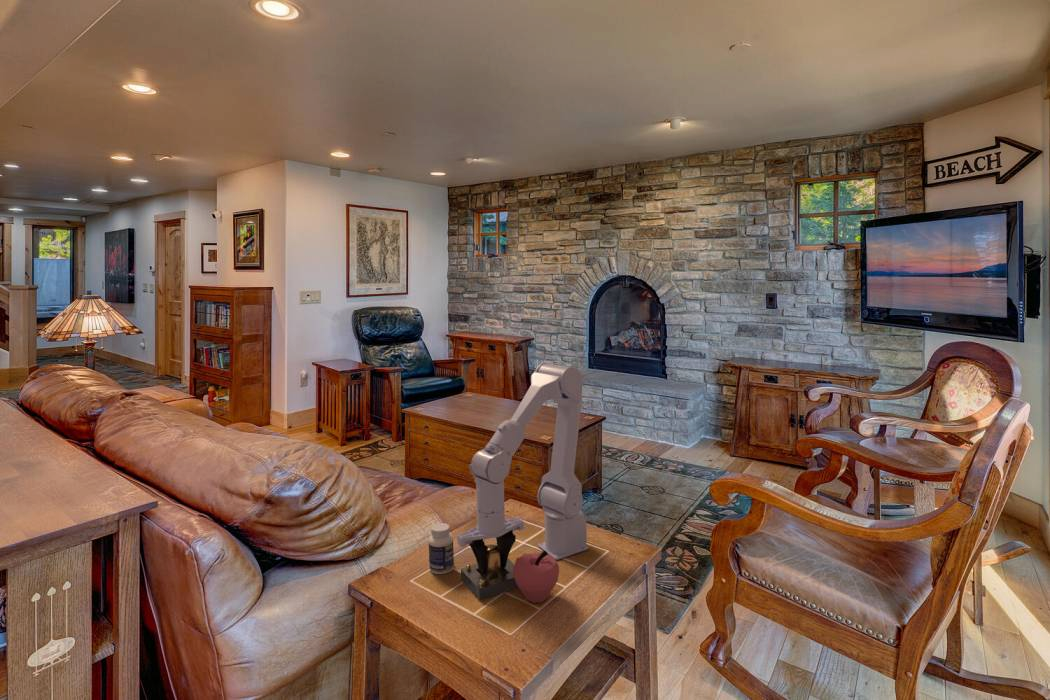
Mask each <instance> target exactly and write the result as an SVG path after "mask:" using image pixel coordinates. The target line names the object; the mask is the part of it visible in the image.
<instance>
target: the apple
mask: <svg viewBox="0 0 1050 700" xmlns="http://www.w3.org/2000/svg"><path fill="white" fill-rule="evenodd" d="M514 564H515V565H514V567H513V574H514V578H515V581H516V583H517V585H518V589H519V590H520V591H521V593H522V594H523V595H524V597H525V599H526V600H528V601H529V602H531V603H533V604H535V603H543V602H544V601H545V599H547V598H548V597H549V596H550V593H551V592H552V590H553V589H554V588H555V585H556V584H557V583H558V581H559V580H558V579H559V574H560V567H559V564H558V563H557V560H555V559H554V558H553V556H550V555H549V554H548V553H547V552H546V551H545V550H544V551H542V552H539V551H537V552H532V553H527V552H525V553H523V554H522V555H521V556H520V557H517V558H516V559H515V562H514Z"/></svg>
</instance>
